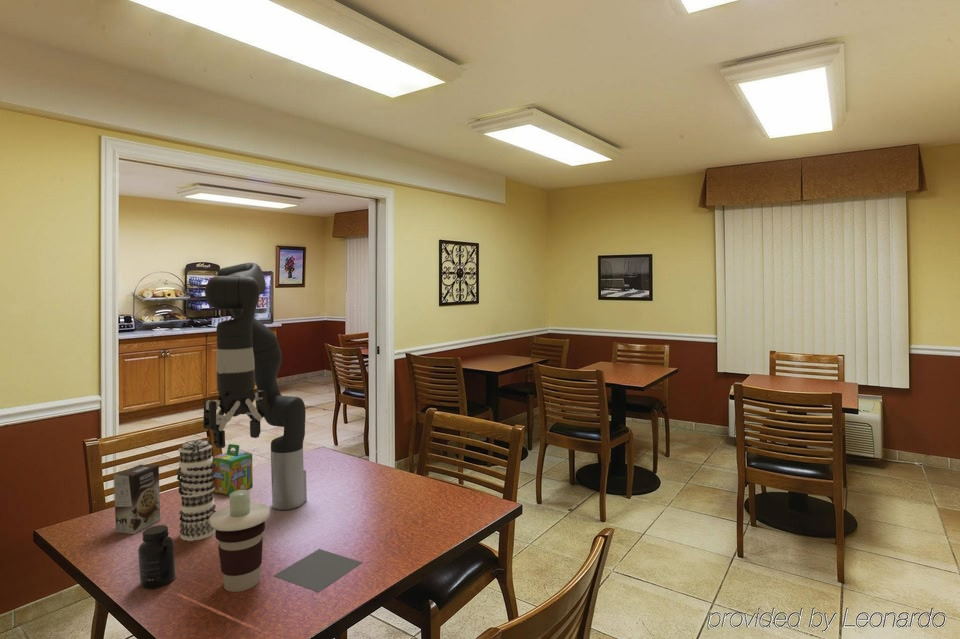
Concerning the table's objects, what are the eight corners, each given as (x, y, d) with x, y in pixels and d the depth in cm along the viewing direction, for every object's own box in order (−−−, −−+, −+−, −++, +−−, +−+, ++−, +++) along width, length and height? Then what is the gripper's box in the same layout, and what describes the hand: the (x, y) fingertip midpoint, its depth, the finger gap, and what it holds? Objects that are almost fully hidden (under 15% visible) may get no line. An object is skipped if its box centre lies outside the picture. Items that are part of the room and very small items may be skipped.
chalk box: (210, 492, 170) (208, 447, 169) (233, 483, 178) (232, 440, 178) (231, 496, 166) (230, 450, 166) (254, 486, 175) (252, 443, 174)
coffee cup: (276, 577, 119) (274, 512, 118) (243, 601, 110) (241, 531, 109) (241, 569, 122) (239, 506, 122) (206, 592, 113) (204, 524, 112)
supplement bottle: (150, 574, 121) (148, 523, 120) (181, 572, 121) (179, 521, 121) (133, 591, 114) (130, 537, 113) (165, 589, 114) (163, 535, 114)
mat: (319, 551, 131) (319, 548, 131) (362, 564, 124) (362, 562, 124) (273, 578, 119) (273, 575, 119) (318, 594, 112) (318, 592, 112)
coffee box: (134, 534, 140) (132, 475, 140) (114, 532, 142) (112, 474, 141) (161, 520, 149) (159, 464, 148) (142, 518, 151) (140, 463, 150)
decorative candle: (225, 527, 145) (222, 437, 143) (202, 542, 136) (198, 447, 134) (195, 524, 146) (192, 436, 145) (170, 540, 137) (167, 446, 136)
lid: (245, 503, 123) (245, 479, 123) (281, 513, 118) (280, 488, 117) (197, 523, 113) (196, 497, 112) (234, 535, 107) (233, 508, 107)
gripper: (252, 363, 122) (254, 432, 123) (193, 372, 109) (196, 448, 110) (274, 365, 118) (276, 436, 119) (216, 374, 106) (219, 453, 106)
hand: (238, 442), depth 114 cm, fingers open, 8 cm apart
